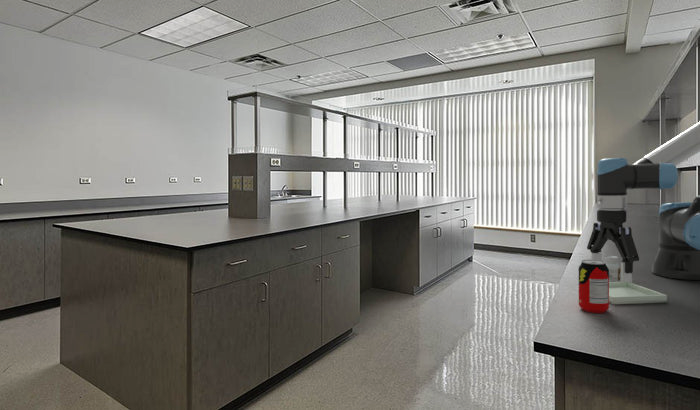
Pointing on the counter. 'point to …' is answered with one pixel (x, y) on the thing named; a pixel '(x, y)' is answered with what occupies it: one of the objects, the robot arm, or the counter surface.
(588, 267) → the beverage can
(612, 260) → the pill bottle
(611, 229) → the robot arm
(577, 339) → the counter surface
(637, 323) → the counter surface
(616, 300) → the tray
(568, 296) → the counter surface
